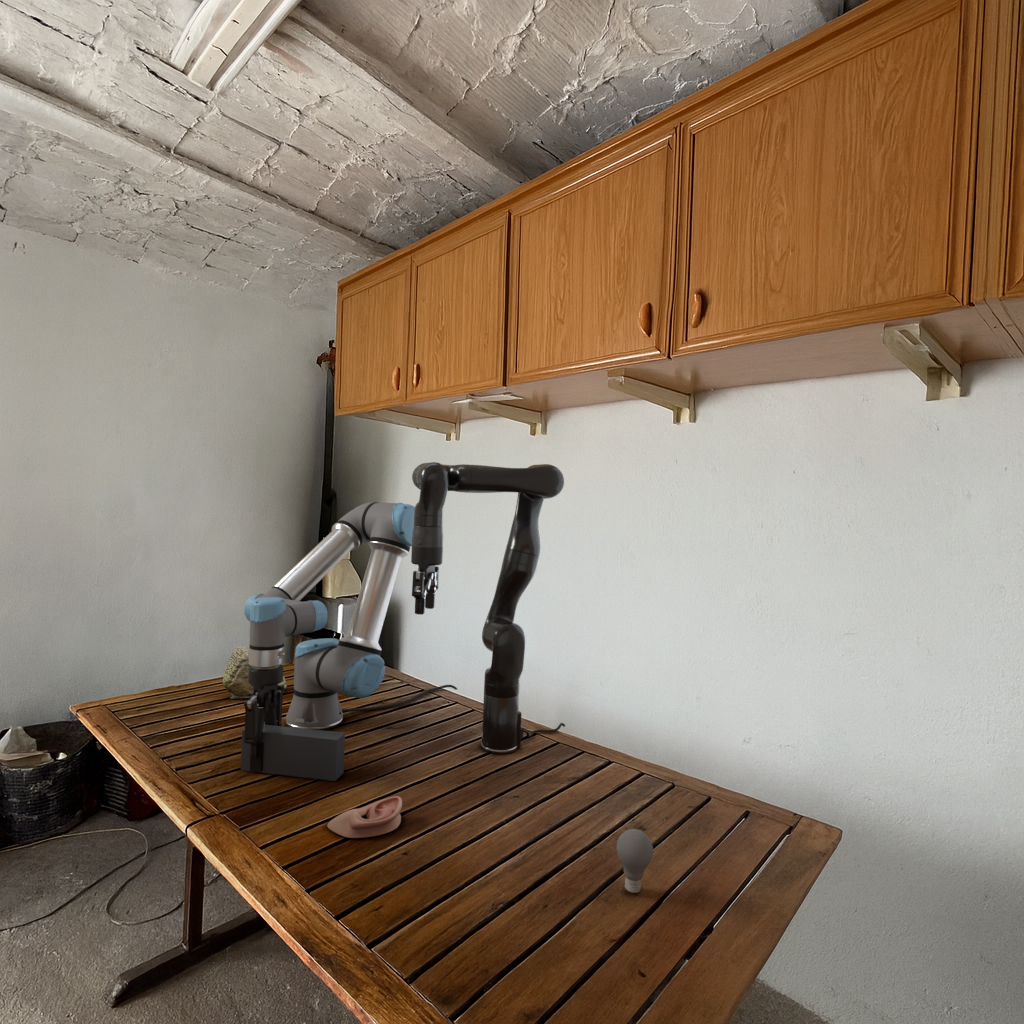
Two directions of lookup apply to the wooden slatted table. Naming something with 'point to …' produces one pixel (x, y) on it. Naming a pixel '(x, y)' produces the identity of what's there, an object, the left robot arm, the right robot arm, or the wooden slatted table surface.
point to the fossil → (240, 675)
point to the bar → (299, 752)
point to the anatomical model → (369, 819)
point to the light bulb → (634, 857)
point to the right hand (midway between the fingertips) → (424, 611)
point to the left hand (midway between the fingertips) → (262, 765)
